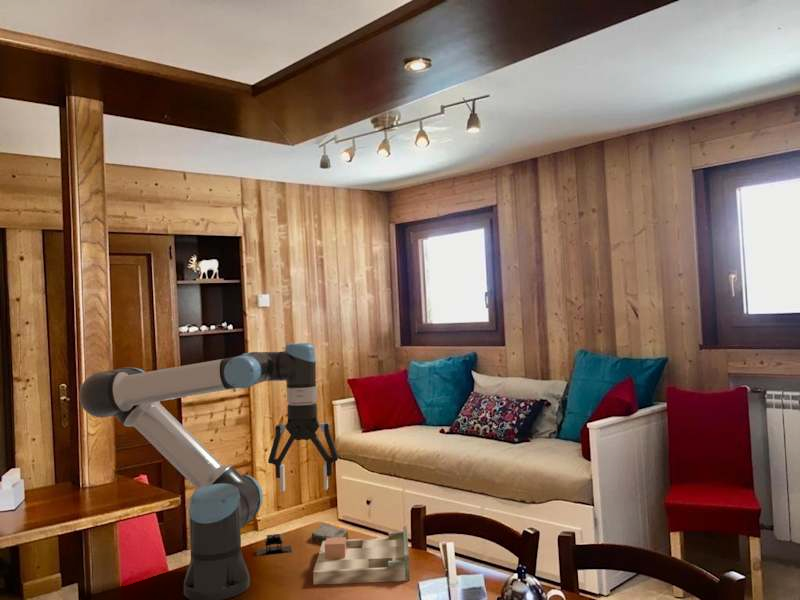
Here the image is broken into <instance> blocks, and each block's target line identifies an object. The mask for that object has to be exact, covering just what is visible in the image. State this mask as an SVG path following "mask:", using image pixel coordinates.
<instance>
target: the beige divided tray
mask: <svg viewBox="0 0 800 600" xmlns="http://www.w3.org/2000/svg"><path fill="white" fill-rule="evenodd" d="M325 542H326V541H323V542H322V544H320V545H321V546H320V549H319V551H318V552H319V553H318V556H317V558H316V562H315V566H314V568H313V572H312V573H313V575H312V576H313V578H312V579H313V580H312V581H313V586H314V585H335V584H338V585H340V584H357V583H358V584H359V583H360V584H361V583H362V584H363V583H379V582H380V583H381V582H382V583H384V582H409V581H408V580H411V579H410V554H409V552H410V551H409V539H408V527H407V526H406V525H404V526H402V531H393V532H392V531H389V532H388V537H380V538H377V537H376V538H356V539H355V538H354V539H348V540H346V555H345V558H326V559H325Z"/></svg>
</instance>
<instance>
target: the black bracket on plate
mask: <svg viewBox="0 0 800 600" xmlns="http://www.w3.org/2000/svg"><path fill="white" fill-rule="evenodd" d="M264 543H265V545H264V546H265V548H257V549H256V557H262V556H269V555H271V556H272V555H279V554H287V553H288V554H289V553H293V550H292V546H291V545H283V540H282V537H281V534H280V533H274V534H266V538H265V541H264ZM272 545H276V546H272ZM282 545H283V546H282Z"/></svg>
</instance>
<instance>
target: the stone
mask: <svg viewBox="0 0 800 600" xmlns="http://www.w3.org/2000/svg"><path fill="white" fill-rule="evenodd" d="M336 537H346V540H347V539H348V540H349V531H348V530H347V529H344V528H340V527H337V526H336V525H333V524H330V523H326V522H322V523H321V524H320V525H319V526H318V527H317V528H316V529H315V530H314V531H313V532H312V533H311V541H312V540H313V541H312V542H314V543H317V542H318V544H319V543H320V544H319V545H322V542H323V541H326V539H327V538H336Z"/></svg>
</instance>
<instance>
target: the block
mask: <svg viewBox="0 0 800 600" xmlns="http://www.w3.org/2000/svg"><path fill="white" fill-rule="evenodd" d="M345 555H346V537H336V538H327V539H326V542H325V559H326V558H345Z"/></svg>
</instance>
